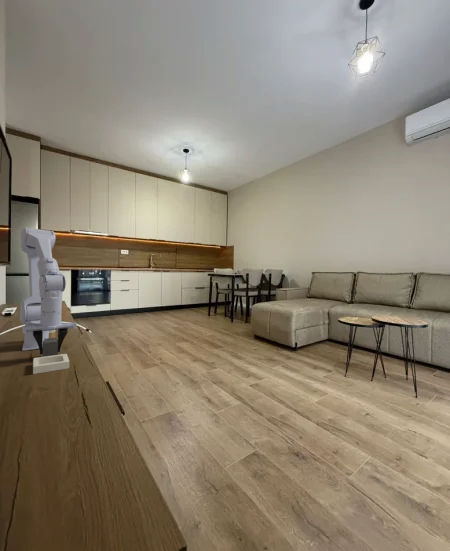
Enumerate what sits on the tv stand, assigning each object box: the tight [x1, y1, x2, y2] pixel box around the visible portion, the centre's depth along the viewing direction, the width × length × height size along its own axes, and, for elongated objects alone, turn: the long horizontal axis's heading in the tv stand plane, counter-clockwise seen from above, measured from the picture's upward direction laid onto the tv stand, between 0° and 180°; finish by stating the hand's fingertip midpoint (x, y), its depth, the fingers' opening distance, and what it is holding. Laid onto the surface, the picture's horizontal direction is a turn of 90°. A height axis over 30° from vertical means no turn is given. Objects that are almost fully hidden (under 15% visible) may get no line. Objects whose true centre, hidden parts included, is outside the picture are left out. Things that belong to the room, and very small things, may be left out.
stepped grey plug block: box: [41, 337, 59, 357], centre depth 83 cm, size 4×4×6 cm
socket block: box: [32, 353, 70, 375], centre depth 75 cm, size 8×8×2 cm
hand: (49, 352), depth 83 cm, fingers closed on stepped grey plug block, 4 cm apart
